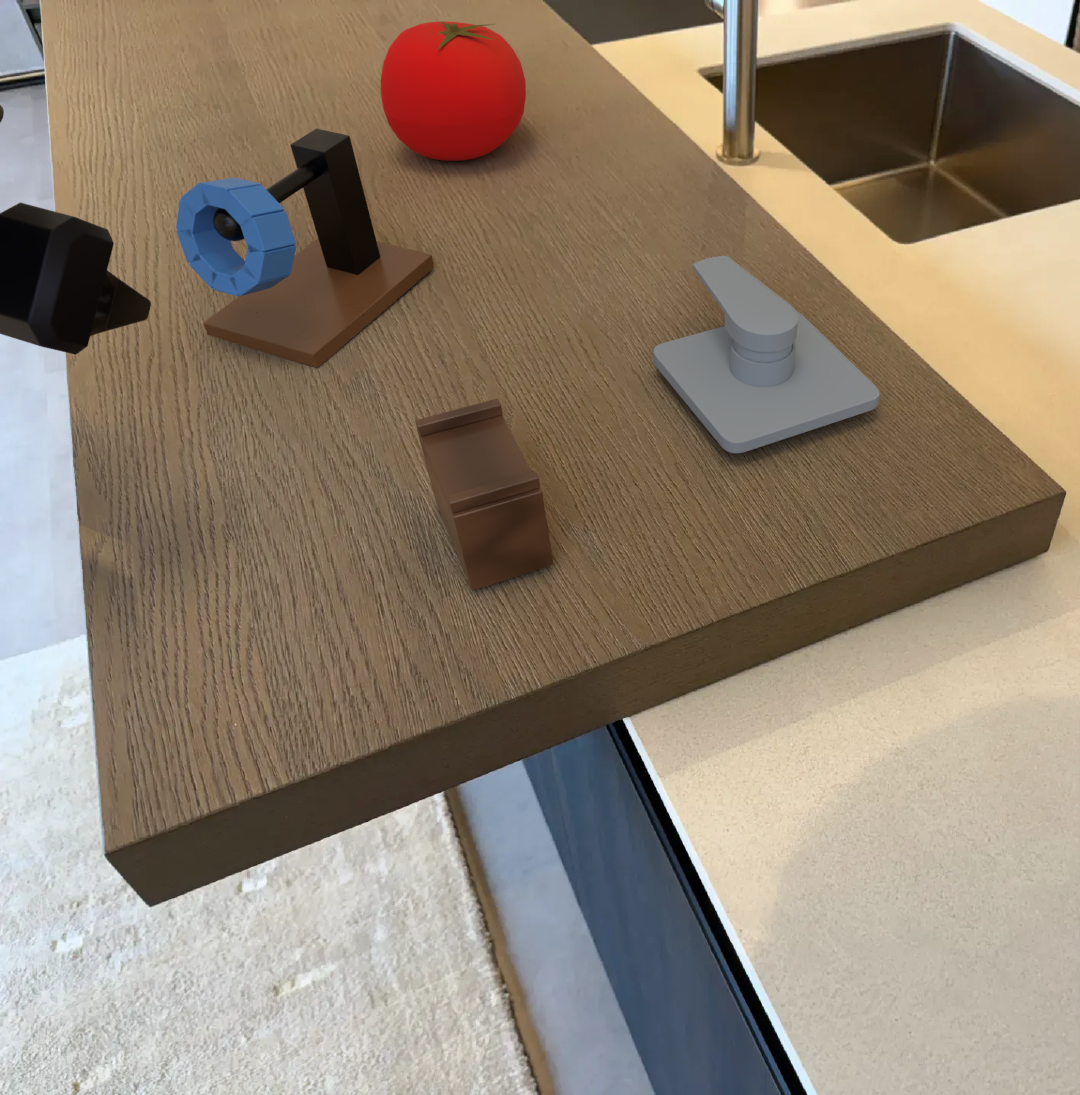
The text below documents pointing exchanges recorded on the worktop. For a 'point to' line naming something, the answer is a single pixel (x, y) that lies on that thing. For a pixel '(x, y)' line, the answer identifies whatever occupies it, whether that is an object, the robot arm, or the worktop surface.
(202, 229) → the tape roll
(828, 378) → the shower valve
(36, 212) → the robot arm
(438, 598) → the worktop surface
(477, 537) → the tape cradle
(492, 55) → the tomato
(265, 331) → the hook stand
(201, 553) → the worktop surface
